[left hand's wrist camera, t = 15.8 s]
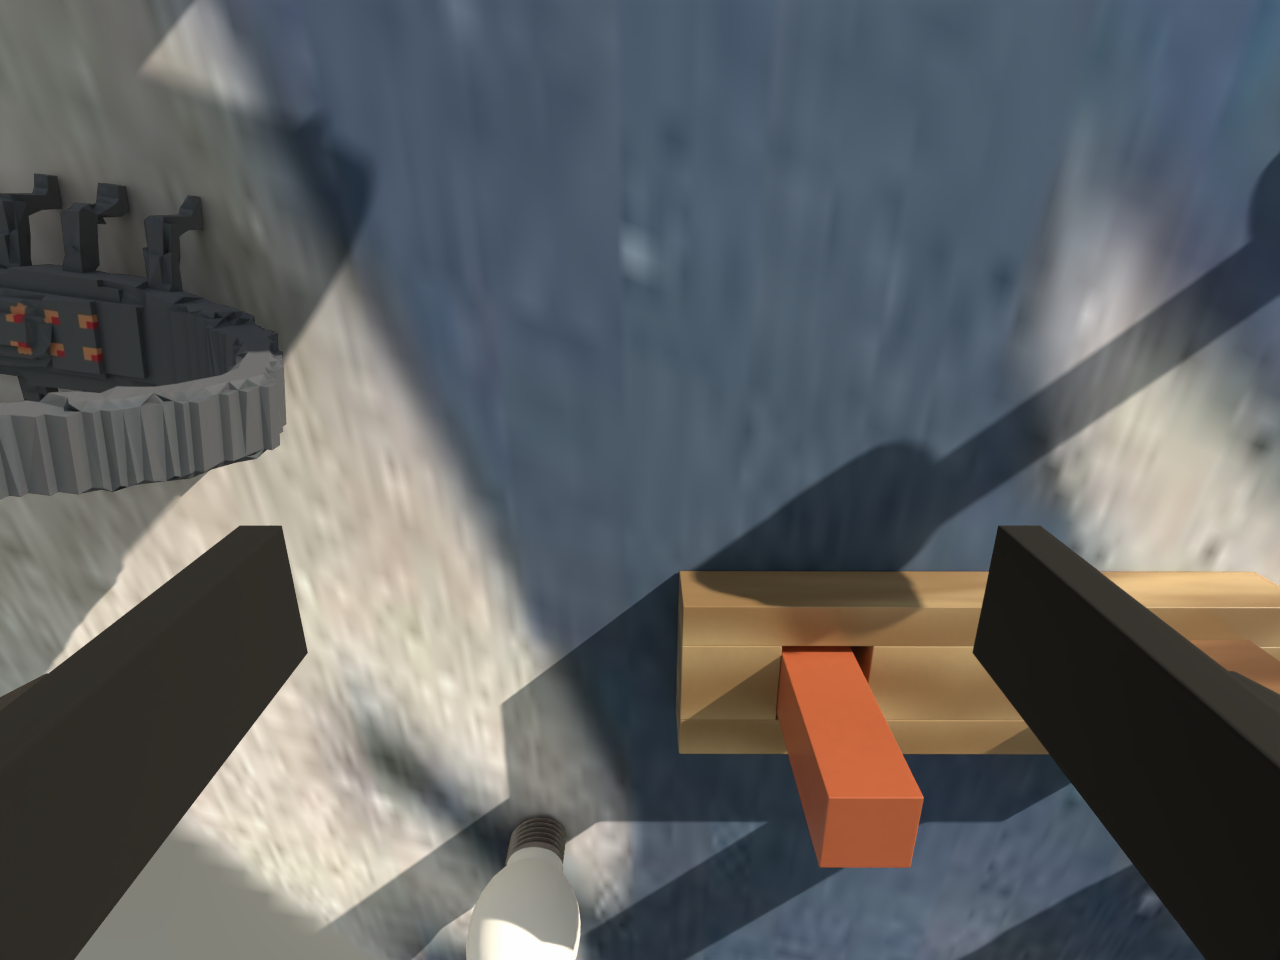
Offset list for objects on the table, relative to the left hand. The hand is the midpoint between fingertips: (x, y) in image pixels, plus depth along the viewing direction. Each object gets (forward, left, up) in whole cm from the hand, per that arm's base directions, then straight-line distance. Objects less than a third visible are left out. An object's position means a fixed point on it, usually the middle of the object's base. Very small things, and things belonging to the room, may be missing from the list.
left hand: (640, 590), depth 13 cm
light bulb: (+34, -7, -25) cm, 43 cm away
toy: (-2, -27, -25) cm, 37 cm away
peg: (+18, +10, -25) cm, 32 cm away
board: (+18, +19, -25) cm, 36 cm away
